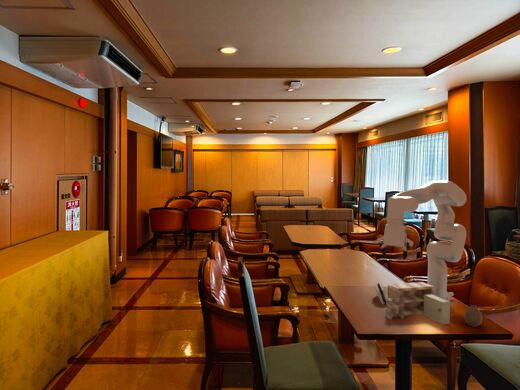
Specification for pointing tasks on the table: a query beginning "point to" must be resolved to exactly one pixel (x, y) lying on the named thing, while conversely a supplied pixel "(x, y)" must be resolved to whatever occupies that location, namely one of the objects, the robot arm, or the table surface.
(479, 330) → the table surface
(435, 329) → the table surface
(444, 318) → the pale white box
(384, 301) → the white electronic device
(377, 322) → the table surface
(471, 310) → the vase
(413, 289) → the cabinet
